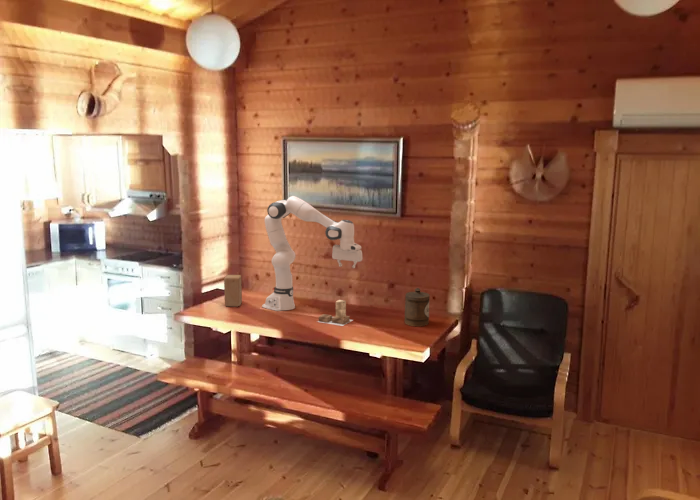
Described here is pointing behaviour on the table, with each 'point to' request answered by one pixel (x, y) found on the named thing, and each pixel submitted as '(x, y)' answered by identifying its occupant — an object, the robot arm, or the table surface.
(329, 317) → the walnut block
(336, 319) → the walnut slab
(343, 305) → the birch pillar
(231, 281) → the wooden block
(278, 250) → the robot arm
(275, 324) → the table surface
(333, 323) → the blueprint board
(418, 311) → the wooden container
